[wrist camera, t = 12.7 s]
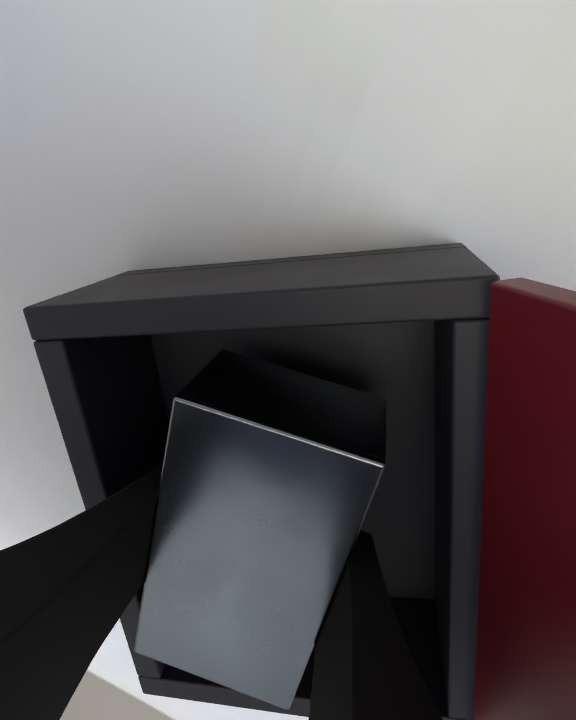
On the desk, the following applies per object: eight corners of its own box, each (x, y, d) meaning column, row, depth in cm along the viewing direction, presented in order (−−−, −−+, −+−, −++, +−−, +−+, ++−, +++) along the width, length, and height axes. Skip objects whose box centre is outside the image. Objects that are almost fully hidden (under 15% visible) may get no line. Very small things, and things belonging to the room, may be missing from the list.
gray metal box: (178, 567, 15) (132, 652, 12) (221, 347, 12) (172, 397, 9) (307, 612, 15) (288, 712, 12) (387, 398, 12) (386, 465, 9)
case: (197, 579, 19) (142, 694, 15) (126, 271, 15) (20, 308, 10) (456, 600, 17) (479, 742, 12) (462, 242, 12) (501, 275, 8)
